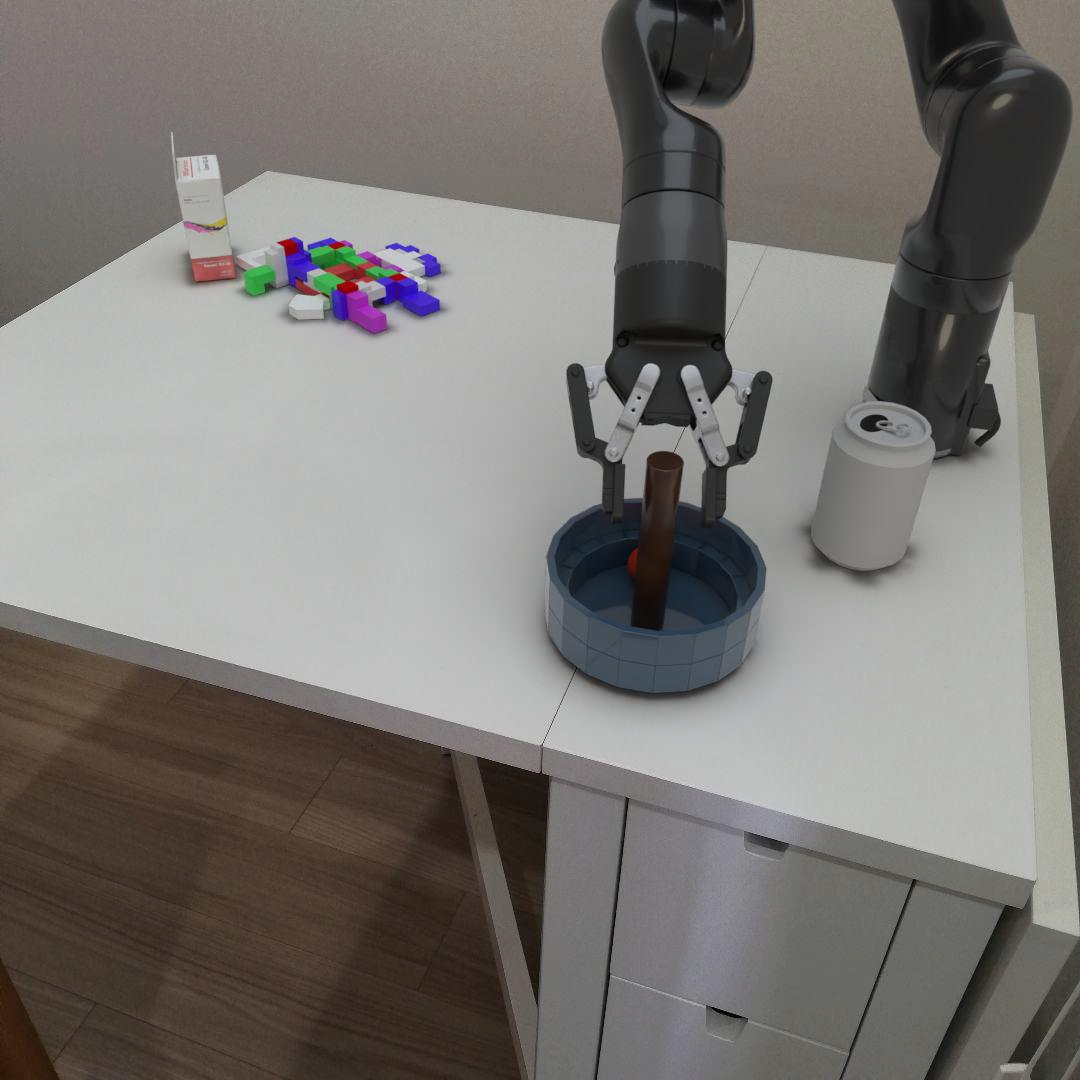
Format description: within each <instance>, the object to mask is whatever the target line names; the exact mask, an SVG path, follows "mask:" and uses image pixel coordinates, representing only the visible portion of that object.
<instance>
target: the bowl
mask: <svg viewBox="0 0 1080 1080" xmlns="http://www.w3.org/2000/svg"><path fill="white" fill-rule="evenodd" d="M642 501H643V497H636V498H635V497H631V498H629V497H628V498H627V497H626V498H624V515H623V522H622V524H614V523H611V517H612V515H609V514H604V512H603V509H602V503H598V504H595V505H593V506H590V507H589V508H587V509H585V510H583V511H581V512H579V513H577V514H575V515H573V516H571V517H570V518H568V520H567V521H565V523H564V524H563V525H562V526H561V527H560V528H559V529H558V530H557V531H556V532H555V533H554V534H553V536H552V538H551V541H550V543H549V547H548V550H547V552H546V555H545V583H544V584H545V586H544V587H545V588H544V616H545V621H546V623H545V624H546V628H547V629H546V630H547V634H548V635H549V636H550V638H551V640H552V642H553V643H554V645H555V646H556V648H557V650H558V651H559V652H560V654H561V656H563V657H564V658H565V659H566V660H568V661H569V663H572V665H574V666H575V667H576V668H578V669H580V670H581V672H583V673H584V674H586V675H588V676H590V677H593V678H596V679H597V680H600V681H602V682H604V683H606V684H609V685H611V686H614V687H617V688H621V689H627V690H633V691H639V692H645V693H650V694H651V693H654V694H655V693H656V694H659V693H673V692H674V693H675V692H687V691H691V690H694V689H698V688H701V687H704V686H707V685H709V684H714V683H716V682H719V681H721V680H722V679H723V678H725V677H726V676H728V675H729V674H731V673H732V672H733V671H734V670H736V669H738V668H739V667H741V666H742V664H743V662H744V661H745V659H746V657H747V656H748V655H749V653H750V652H751V649H753V646H754V645H755V640H756V637H757V631H758V625H759V621H760V615H761V612H762V611H761V610H762V605H763V601H764V595H765V591H766V581H767V565H766V563H765V560H764V558H763V556H762V552H761V550H760V548H759V546H758V545H757V544H756V543H755V541H753V539H752V538H751V537H750V536H749V535H748V534H747V533H746V532H745V531H744V530H743V529H742V528H741V527H740V526H738V525H737V524H735V523H734V522H732V521H730V520H729V519H727V518H726V517H724V516H723V517H722V518H721V519H716V522H715V526H713V527H712V528H702V527H701V506H698V505H695V504H692V503H689V502H687V501H682V500H681V501H680V500H679V507H678V514H677V522H676V530H675V538H674V546H673V554H672V562H671V570H670V578H669V586H668V594H667V602H666V610H665V618H664V625H663V627H662V628H661V629H660V630H659V631H656V630H649V629H643V628H637V627H633V626H632V624H631V611H632V601H633V591H634V581H635V580H634V579H633V578H632V577H631V576H630V574H629V571H628V566H627V565H628V559H629V557H630V555H631V553H632V552H633V551H634V550H635V549H637V548H638V541H639V531H640V521H641V511H642Z"/></svg>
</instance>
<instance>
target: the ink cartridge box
mask: <svg viewBox="0 0 1080 1080" xmlns="http://www.w3.org/2000/svg"><path fill="white" fill-rule="evenodd" d="M170 142H171V155H172V156H171V157H172V164H173V175H174V182H175V188H176V193H177V198H178V203H179V207H180V213H181V217H182V223H183V227H184V234H185V238H186V244H187V248H188V252H189V257H190V262H191V268H192V272H193V277H194V281H195V282H204V281H215V280H223V279H224V280H225V279H236V278H237V274H236V268H235V262H234V256H233V249H232V243H231V235H230V229H229V222H228V214H227V209H226V202H225V195H224V190H223V189H224V187H223V181H222V175H221V171H220V166H219V162H218V157H217V155H216V154H205V155H195V156H194V155H192V156H183V157H176V155H175V144H174V133H173V131H171V132H170Z"/></svg>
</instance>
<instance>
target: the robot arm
mask: <svg viewBox="0 0 1080 1080" xmlns="http://www.w3.org/2000/svg"><path fill="white" fill-rule="evenodd" d="M891 3H892V6H893V8H894V10H895V11H894V12H895V15H896V18H897V20H898V24H899V28H900V33H901V35H902V40H903V46H904V49H905V55H906V60H907V64H908V69H909V72H910V79H911V85H912V88H913V94H914V99H915V105H916V110H917V115H918V120H919V124H920V127H921V130H922V133H923V135H924V137H925V139H926V142H927V144H928V145H929V146H930V148H931V149H932V150H933V151H934V153H935V154H936V155H937V156H938V157H939V158H940V160H939V161H940V162H939V165H938V168H937V172H936V176H935V179H934V183H933V187H932V190H931V194H930V195H929V200H928V203H927V206H926V207H925V208H922V209H920V210H918V211H916V212H915V213H913V214H911V215H910V217H909V218H908V219H907V221H906V223H905V226H904V229H903V232H902V237H901V240H900V245H899V250H898V253H897V258H896V262H895V266H894V269H893V270H894V271H893V273H892V279H891V283H890V288H889V291H888V294H887V295H888V296H887V300H886V303H885V308H884V312H883V316H882V321H881V325H880V328H879V333H878V337H877V342H876V345H875V350H874V354H873V359H872V363H871V367H870V371H869V375H868V379H867V384H864V389H863V393H862V399H863V400H862V403H865V402H874V401H882V402H890V403H896V404H899V405H903V406H906V407H908V408H910V409H913V410H915V411H917V412H918V413H919V414H921V415H922V416H924V417H925V418H926V419H927V421H928V422H929V424H930V425H931V431H932V433H931V435H930V437H931V438H932V439H933V441H934V442H935V449H936V451H935V455H934V458H933V459H937V458H942V457H946V456H948V455H954V456H963V453H964V449H965V446H966V443H967V440H968V437H969V434H970V430H971V429H977V430H985V432H984V433H983V434H982V435H980V436H979V437H977V438H976V439H975V440H974V441H973V443H974V444H975V446H977V447H979V448H982V446H983V445H985V444H986V443H987V442H989V441H990V440H991V439H992V438H993V437H994V436H995V435H996V434H997V433H998V432H999V429H1000V427H1001V424H1002V418H1001V414H1000V411H999V406H998V405H999V404H998V402H997V401H998V400H997V397H996V392H995V388H994V384H993V383H987V382H986V380H987V377H988V375H989V371H990V368H991V363H992V362H991V361H992V360H991V357H990V353H989V349H990V346H991V342H992V340H993V336H994V332H995V329H996V326H997V322H998V319H999V316H1000V313H1001V311H1002V307H1003V304H1004V301H1005V296H1006V294H1007V290H1008V288H1009V284H1010V281H1011V277H1012V275H1013V271H1014V268H1015V266H1016V263H1017V260H1018V257H1019V254H1020V252H1021V251H1022V249H1024V247H1025V246H1026V245H1027V244H1028V242H1029V241H1030V240H1031V239H1032V237H1033V236H1034V234H1035V232H1036V230H1037V228H1038V227H1039V224H1040V221H1041V219H1042V216H1043V214H1044V211H1045V208H1046V207H1047V206H1046V205H1047V204H1048V200H1049V197H1050V194H1051V192H1052V189H1053V187H1054V184H1055V182H1056V179H1057V176H1058V173H1059V170H1060V168H1061V165H1062V162H1063V159H1064V156H1065V153H1066V150H1067V146H1068V143H1069V139H1070V136H1071V130H1072V126H1073V119H1074V117H1073V116H1074V101H1073V97H1072V93H1071V90H1070V88H1069V86H1068V84H1067V83H1066V81H1065V80H1064V79H1063V78H1062V76H1061V75H1060V74H1059V73H1057V72H1056V71H1055V70H1054V69H1052V68H1051V67H1049V66H1047V65H1046V64H1044V63H1043V62H1042V61H1040V60H1039V59H1038V58H1036V57H1034V56H1033V55H1031V54H1029V53H1028V51H1026V49H1025V48H1024V47H1023V45H1022V43H1021V41H1020V39H1019V37H1018V34H1017V32H1016V30H1015V28H1014V26H1013V23H1012V20H1011V18H1010V15H1009V12H1008V9H1007V6H1006V3H1005V0H891ZM600 46H601V47H600V49H601V64H602V69H603V73H604V80H605V83H606V88H607V91H608V94H609V98H610V103H611V105H612V110H613V113H614V117H615V122H616V125H617V131H618V136H619V141H620V146H621V147H620V148H621V155H622V178H621V179H622V181H621V182H622V183H621V205H620V207H621V208H620V210H621V211H620V221H619V226H618V233H617V237H616V248H615V262H614V266H613V273H614V298H613V299H614V300H613V323H612V324H613V325H612V349H611V351H610V354H609V355H608V357H607V359H606V361H605V363H601V364H597V365H590V366H589V365H588V366H583V365H582V364H580V363H578V362H575V363H574V362H573V363H570V364H569V365H568V366H567V367H566V373H565V374H566V375H565V384H566V390H567V396H568V403H569V409H570V414H571V415H570V416H571V421H572V427H573V428H572V429H573V433H574V434H573V435H574V440H575V447H576V451H577V454H578V455H579V457H580V458H582V459H589V460H590V461H591V460H592V461H594V462H596V463H598V464H599V465H600V467H601V469H602V484H601V485H602V487H601V504H602V509H603V512H604V514H609V515H612V517H611V523H614V524H622V522H623V515H624V499H625V488H626V487H625V485H626V482H625V481H626V463H623V458H624V457H625V454H626V453H627V450H628V448H629V446H630V444H631V442H632V440H633V437H634V436H635V433H636V431H637V429H638V427H639V425H640V423H641V426H646V427H647V426H648V427H649V426H650V427H652V426H658V425H664V424H666V425H669V426H673V427H677V428H689V430H690V433H691V435H692V438H693V440H694V442H695V444H696V445H697V447H698V449H699V452H700V455H701V456H702V460H703V462H704V464H705V469H704V470H703V472H702V473H701V499H700V501H701V504H700V505H701V506H700V507H701V527H702V528H712V527H713V526H715V522H716V519H721V518H722V517H724V515H725V513H726V511H727V510H726V509H727V491H728V489H727V485H728V483H727V482H728V470H729V469H730V468H733V467H736V466H739V465H740V466H744V465H746V464H748V463H749V462H750V461H751V459H752V458H754V457H755V455H756V454H757V452H758V447H759V443H760V440H761V439H760V438H761V434H762V430H763V426H764V421H765V417H766V412H767V408H768V404H769V399H770V395H771V390H772V389H771V388H772V387H773V386H772V385H773V376H772V374H771V373H770V372H769V371H767V370H759V371H758V372H757V373H752V372H748V371H745V370H739V369H735V368H733V365H732V363H731V362H730V360H729V358H728V355H727V351H726V332H727V331H726V330H727V329H726V327H727V324H726V323H727V290H728V289H727V287H728V284H727V281H728V234H727V226H726V215H725V213H726V212H725V208H726V207H725V206H726V205H725V204H726V172H727V151H726V143H725V140H724V138H723V135H722V133H721V132H720V131H719V130H718V129H717V128H716V127H715V125H713V124H712V123H709V122H708V121H705V120H704V119H701V118H699V117H698V116H695V115H693V114H691V113H689V112H687V111H685V110H683V109H681V108H679V107H677V105H678V106H684V107H689V108H694V109H702V110H720V109H723V108H726V107H728V106H729V105H731V104H732V103H733V102H734V101H735V100H736V99H738V97H739V96H740V95H741V93H742V92H743V91H744V89H745V88H746V86H747V84H748V82H749V79H750V77H751V74H752V72H753V68H754V63H755V57H756V56H755V55H756V8H755V0H615V1H614V3H613V4H612V6H611V7H610V8H609V11H608V12H607V16H606V18H605V20H604V24H603V27H602V34H601V45H600ZM604 382H606V383H607V384H608V385H609V387H610V389H611V390H612V392H613V393H614V394H615V396H616V397H617V399H618V400H619V402H620V403H621V405H622V406H623V410H622V412H621V414H620V416H619V418H618V420H617V423H616V425H615V428H614V430H613V432H612V433H611V436H610V438H609V440H608V441H606V440H603V439H600V438H598V437H596V432H595V427H594V426H595V425H594V421H593V415H592V408H591V402H590V401H592V400H594V399H596V398H597V396H598V394H599V388H600V387H599V386H600V385H601V384H602V383H604ZM728 386H729V387H730V388H731V389H733V391H734V400H735V402H736V403H737V404H738V405H739V406H741V407H743V408H742V412H741V416H740V421H739V425H738V429H737V433H736V437H735V442H734V444H731V445H728V446H726V443H725V441H724V438H723V436H722V433H721V430H720V423H719V421H718V419H717V416H716V413H715V411H714V408H713V406H712V405H713V404H714V403H715V401H716V400H717V399H718V398H719V396H720V395H721V394H722V393H723V391H724V390H725V389H726V388H727V387H728Z"/></svg>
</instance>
